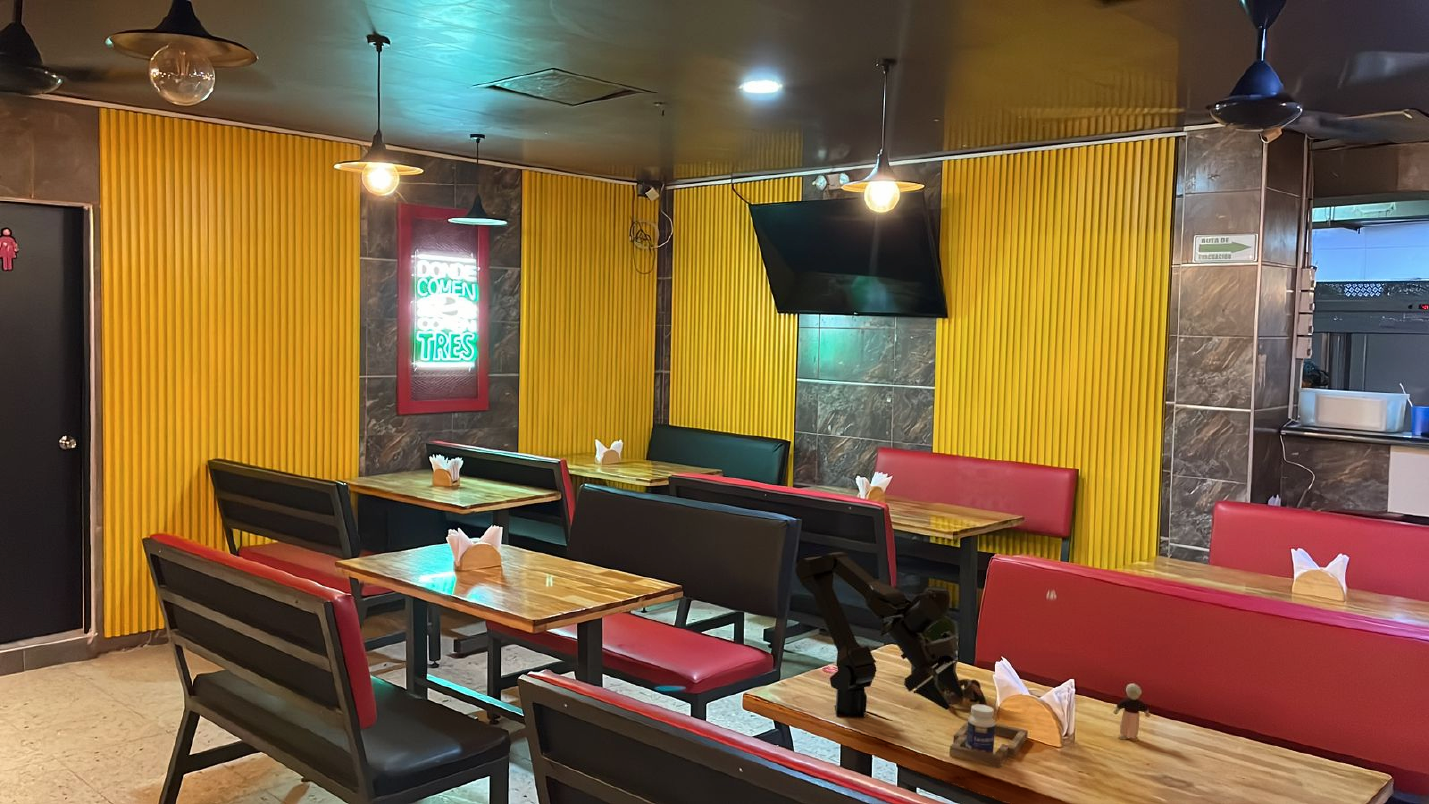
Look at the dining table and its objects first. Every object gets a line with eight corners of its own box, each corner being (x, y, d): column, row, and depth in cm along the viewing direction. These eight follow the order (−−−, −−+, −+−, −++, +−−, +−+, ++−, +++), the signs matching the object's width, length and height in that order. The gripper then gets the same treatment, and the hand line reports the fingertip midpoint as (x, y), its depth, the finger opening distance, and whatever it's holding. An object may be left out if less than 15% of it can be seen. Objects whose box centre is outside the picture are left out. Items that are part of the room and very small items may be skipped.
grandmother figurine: (1116, 740, 239) (1120, 685, 238) (1110, 734, 243) (1114, 680, 242) (1150, 742, 239) (1154, 687, 238) (1144, 736, 242) (1148, 681, 242)
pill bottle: (973, 759, 224) (976, 713, 223) (960, 748, 229) (963, 703, 229) (998, 757, 225) (1001, 712, 225) (984, 747, 231) (987, 702, 230)
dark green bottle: (957, 684, 274) (963, 588, 272) (943, 694, 265) (949, 595, 263) (919, 675, 279) (924, 581, 277) (904, 685, 270) (909, 588, 269)
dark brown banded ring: (985, 722, 248) (969, 691, 248) (950, 730, 253) (934, 700, 253) (998, 695, 258) (982, 666, 258) (963, 704, 263) (948, 675, 263)
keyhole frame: (969, 726, 244) (970, 717, 243) (1027, 739, 237) (1027, 730, 237) (943, 754, 226) (944, 745, 226) (1005, 769, 220) (1005, 759, 220)
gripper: (922, 631, 223) (969, 694, 218) (951, 613, 239) (996, 671, 234) (884, 660, 228) (930, 722, 223) (916, 640, 244) (959, 698, 239)
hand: (955, 702), depth 230 cm, fingers open, 9 cm apart
